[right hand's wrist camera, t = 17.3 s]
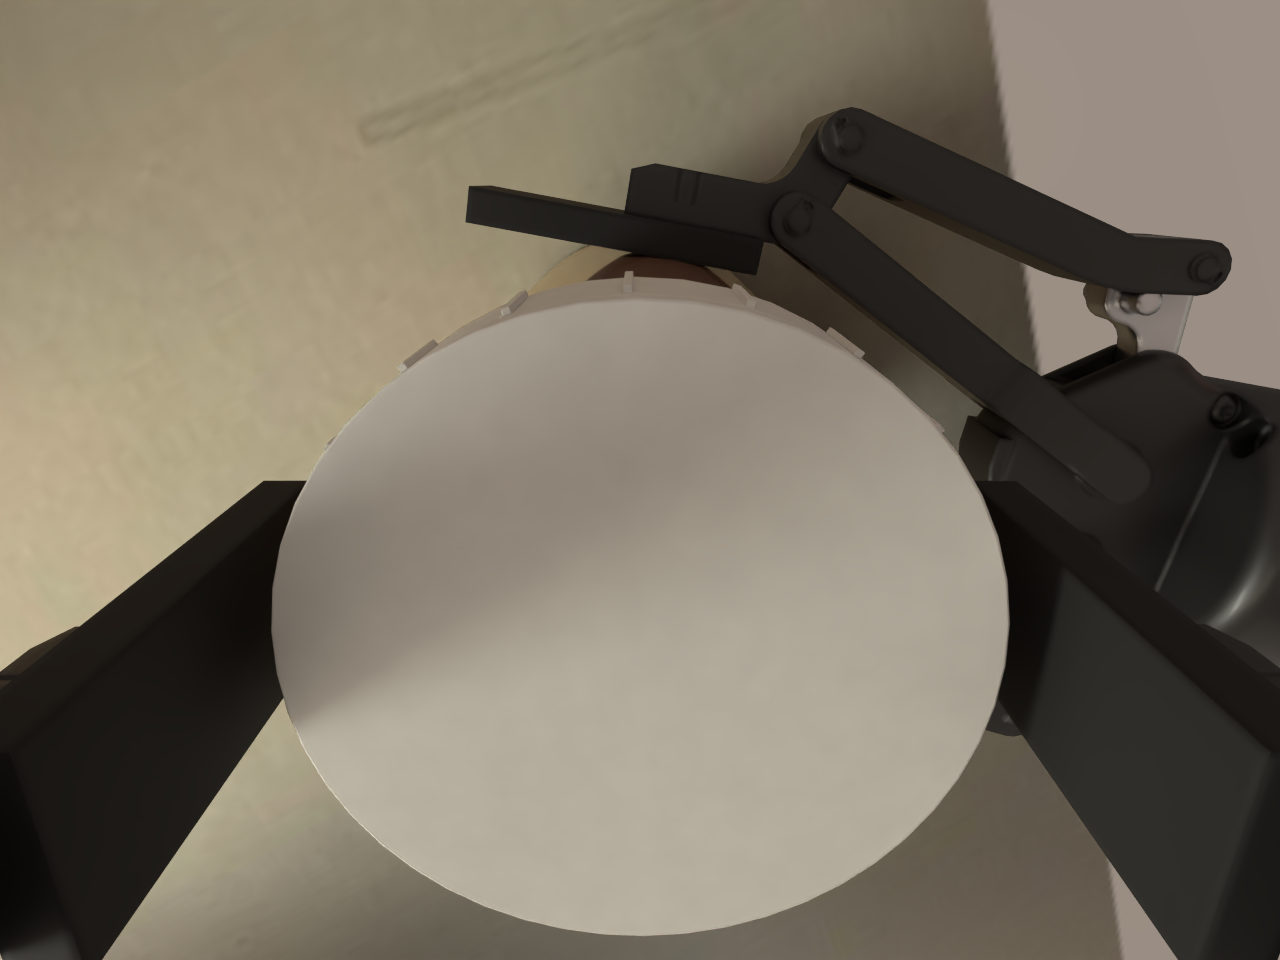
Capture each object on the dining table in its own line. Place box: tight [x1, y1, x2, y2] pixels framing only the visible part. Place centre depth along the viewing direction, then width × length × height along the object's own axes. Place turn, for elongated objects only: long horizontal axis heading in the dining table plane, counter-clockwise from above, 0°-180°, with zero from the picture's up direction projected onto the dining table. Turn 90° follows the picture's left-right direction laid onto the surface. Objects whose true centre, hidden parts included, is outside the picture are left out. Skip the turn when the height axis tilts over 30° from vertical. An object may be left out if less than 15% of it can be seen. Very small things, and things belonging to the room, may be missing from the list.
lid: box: [271, 271, 1010, 936], centre depth 11 cm, size 10×10×2 cm
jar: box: [527, 245, 757, 298], centre depth 19 cm, size 9×9×17 cm
